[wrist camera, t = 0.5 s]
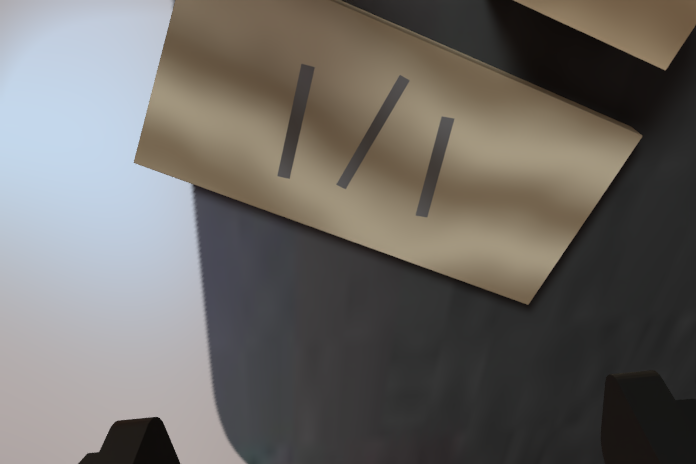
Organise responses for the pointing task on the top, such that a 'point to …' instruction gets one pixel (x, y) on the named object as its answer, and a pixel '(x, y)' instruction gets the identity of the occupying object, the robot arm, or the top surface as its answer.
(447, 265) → the board
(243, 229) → the top surface
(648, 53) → the block
